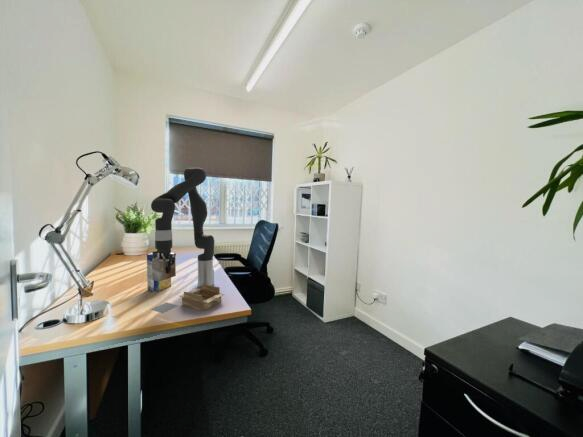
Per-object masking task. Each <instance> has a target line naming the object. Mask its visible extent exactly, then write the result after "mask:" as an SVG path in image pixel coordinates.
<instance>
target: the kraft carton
mask: <svg viewBox="0 0 583 437" xmlns="http://www.w3.org/2000/svg"><path fill="white" fill-rule="evenodd" d="M220 290H221V288H220V287H219V286H214V285H212V286H211V285H206V284H202V287H201V288H199V287H197V288H194V289H192V290H191V291H183V294H180V295H179V297H180V298H181V305H182V307H186V308H190V309H193V310H198V311H201V312H204V311H206V310H208V309H209V308H211V307H213V306H215V305H217V304H218V303H220V302H222V296H224V295H225V294H224V293H222V292H221V291H220Z"/></svg>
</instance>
